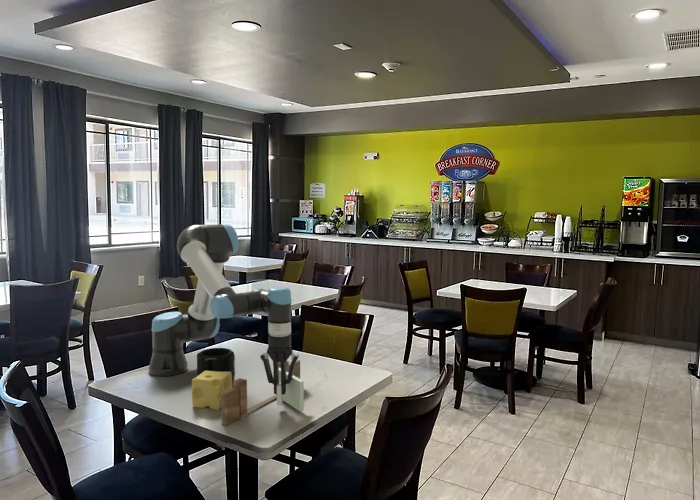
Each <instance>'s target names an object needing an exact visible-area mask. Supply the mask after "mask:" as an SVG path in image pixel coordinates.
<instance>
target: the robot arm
mask: <svg viewBox="0 0 700 500" xmlns="http://www.w3.org/2000/svg"><path fill="white" fill-rule="evenodd" d="M176 249H177V253H178V255H179V257H180V258H181V260H182V261H183V262H184V263H186V264H188V265H189V267H190V268H191V271H192V272H193V273H194V275H195V276H196V278H197V279H198V280H197V283H196V287H195V294H194V297H193V298H194V299H193V304H191V305H190V306H189V307H188V310H187V313H184V314H183V313H182V312H180V311H169V312H164V313H160V314H159V315H156V316H155V317H154V318H152V320H151V321H152V322H151V335H152V342H151V343H152V355H151V359H150V362H149V365H148V374H150V376H151V375H152V376H155V377H169V376H176V375H181V374H183V373H185V372H187V371H188V369H189V366H188V361H187V359H186V355H185V352H184V348H183V346H184V343H190V342H195V341H203V340H209V339H211V338H214V337H215V336H217V334H218V332H219V331H220V326H221V325H220V324H221V323H220V321H221V320H220V319H230V318H234V317H239V316H248V315H253V314H254V315H255V314H259V313H260V314H261V313H263V314H267V323H268V324H267V331H268V332H267V333H268V336H267V337H268V338H267V342H268V343H267V345H268V347H267V349H266V352H263V353H261V354H260V356H259V357H260V360H261V361H262V363H263V367H264V371H265V375H266V380H267V382H268V384H272V385H273V394H274V395H276V394H277V399H276V405H277V406H281V405H282V404H283V403H284V401H283V394H285V393H286V384H289V383H290V382H291V380H292V376H293V372H294V368H295V364H296V360H299V358H300V355H299V354H298V353H297V354H296V353H295V352H293V348H292V335H291V333H292V297H291V296H292V295H291V289H290V288H289V287H286V286H285V287H284V286H274V287H270V288H268V290H266V289H263V288H253V289H252V290H250V291H246V292H236V291H234V289H233V288H232V286H231V285H230V283H229V282H228V280H227V279H226V277H225V276H224V274H223V269H224V264H225V263H227V262H229V260H230V256H231V255H234V254H235V253H236V252H238V249H239V237H238V233H237V231H236V229H235V228H234V226H232V225H231V224H225V223H224V224H223V223H219V224H193V225H190V226H188V227H186V228H185V229H183V230H182V232H181V233H180V234H179V236H178V239H177V243H176ZM269 358H270V359H271V360H272V366H273V367H271V363H270V359H269ZM289 358H290V360H291V361H290V362H291V365H290V369H289V373H288V377H287V379H286V361H288V360H289ZM279 362H281V383H278V382H279ZM272 368H273V370H272ZM272 371H273V372H272Z"/></svg>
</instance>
